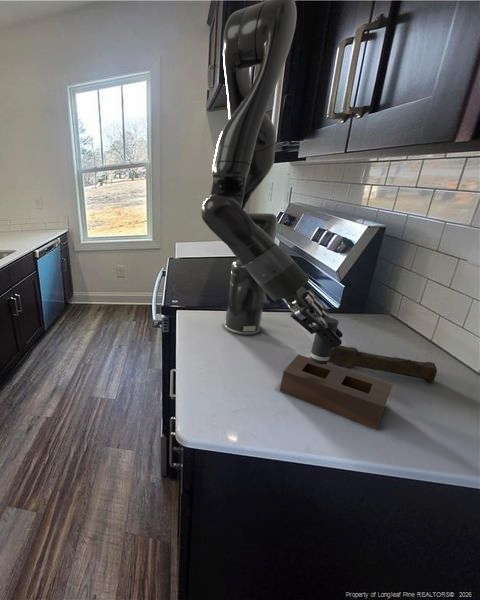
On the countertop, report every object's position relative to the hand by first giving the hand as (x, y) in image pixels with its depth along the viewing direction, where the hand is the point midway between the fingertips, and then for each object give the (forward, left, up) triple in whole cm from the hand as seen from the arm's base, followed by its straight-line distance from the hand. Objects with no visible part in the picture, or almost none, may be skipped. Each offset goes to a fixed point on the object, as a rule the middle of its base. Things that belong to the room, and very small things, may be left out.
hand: (337, 341), depth 61 cm
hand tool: (-17, +5, -13) cm, 22 cm away
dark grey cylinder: (0, -2, -5) cm, 5 cm away
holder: (0, +1, -12) cm, 13 cm away
